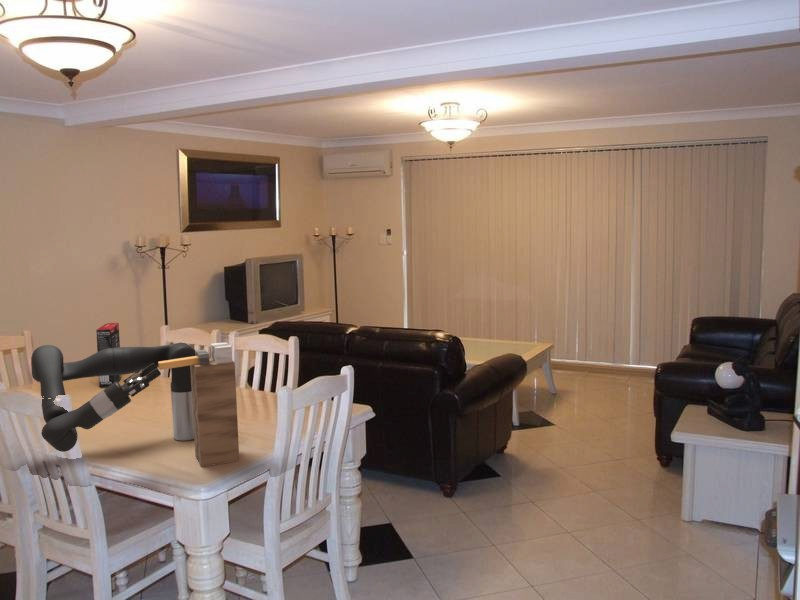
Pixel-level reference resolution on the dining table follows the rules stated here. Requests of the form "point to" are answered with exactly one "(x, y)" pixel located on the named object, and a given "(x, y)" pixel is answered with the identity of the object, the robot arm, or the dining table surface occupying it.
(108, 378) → the graphics card box
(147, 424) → the dining table surface
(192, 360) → the block
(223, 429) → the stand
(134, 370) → the robot arm
